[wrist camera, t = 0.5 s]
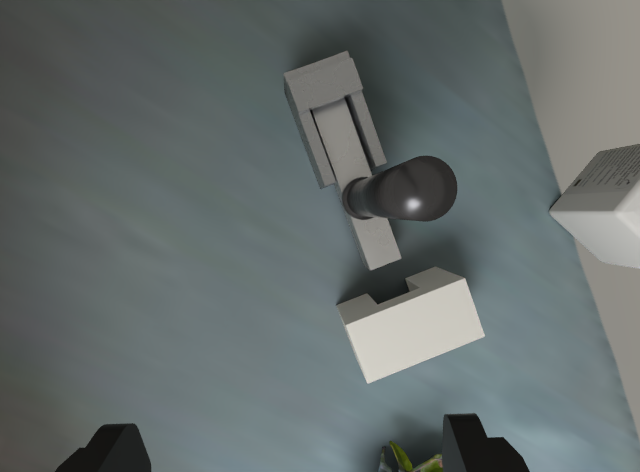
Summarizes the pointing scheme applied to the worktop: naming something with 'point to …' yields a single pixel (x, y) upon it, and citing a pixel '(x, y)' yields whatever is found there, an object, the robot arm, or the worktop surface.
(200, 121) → the worktop surface
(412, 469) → the passion flower
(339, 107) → the tube
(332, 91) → the sleeve
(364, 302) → the socket block
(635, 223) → the container
